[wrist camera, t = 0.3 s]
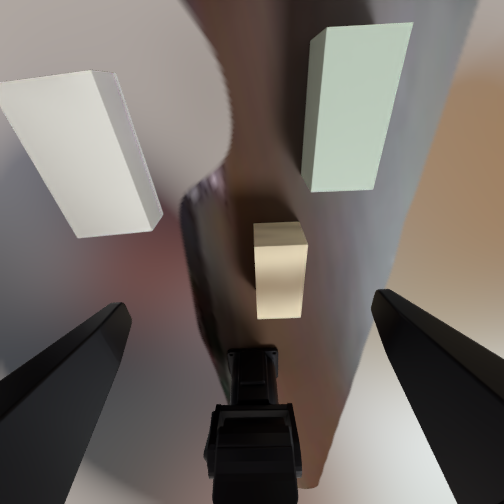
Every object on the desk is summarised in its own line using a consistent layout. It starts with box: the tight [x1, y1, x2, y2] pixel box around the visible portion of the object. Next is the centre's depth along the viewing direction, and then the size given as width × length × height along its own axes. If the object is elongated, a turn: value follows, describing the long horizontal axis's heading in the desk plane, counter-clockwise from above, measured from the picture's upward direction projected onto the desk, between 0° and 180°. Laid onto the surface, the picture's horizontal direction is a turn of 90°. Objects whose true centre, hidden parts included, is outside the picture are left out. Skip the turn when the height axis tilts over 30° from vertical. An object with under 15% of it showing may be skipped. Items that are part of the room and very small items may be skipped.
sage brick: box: [301, 22, 413, 192], centre depth 15 cm, size 8×4×4 cm, turn 2°
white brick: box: [0, 70, 163, 238], centre depth 17 cm, size 10×6×3 cm, turn 6°
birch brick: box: [254, 222, 308, 319], centre depth 22 cm, size 8×4×4 cm, turn 3°
